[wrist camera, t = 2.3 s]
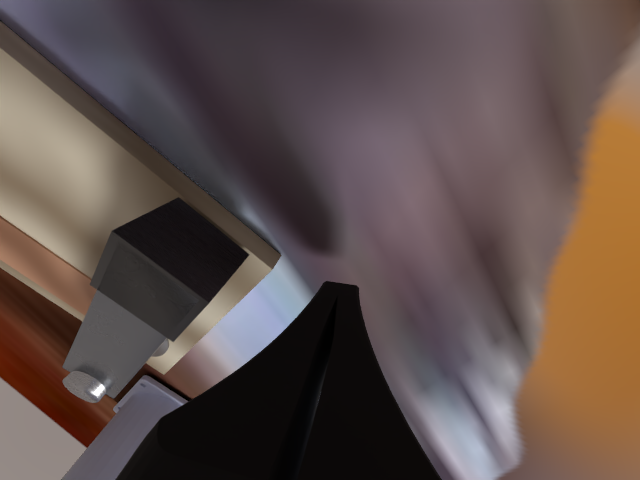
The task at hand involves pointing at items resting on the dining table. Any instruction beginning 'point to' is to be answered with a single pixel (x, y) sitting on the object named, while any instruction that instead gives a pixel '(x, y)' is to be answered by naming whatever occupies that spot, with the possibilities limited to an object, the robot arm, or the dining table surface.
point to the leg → (147, 294)
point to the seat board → (90, 193)
